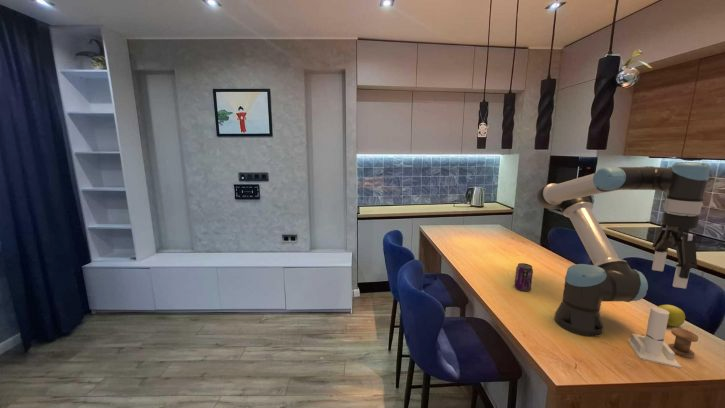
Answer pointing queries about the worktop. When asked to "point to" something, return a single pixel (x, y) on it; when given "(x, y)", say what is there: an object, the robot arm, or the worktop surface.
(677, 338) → the wooden cabinet knob
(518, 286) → the beverage can
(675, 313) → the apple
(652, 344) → the tube
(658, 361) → the notch board
